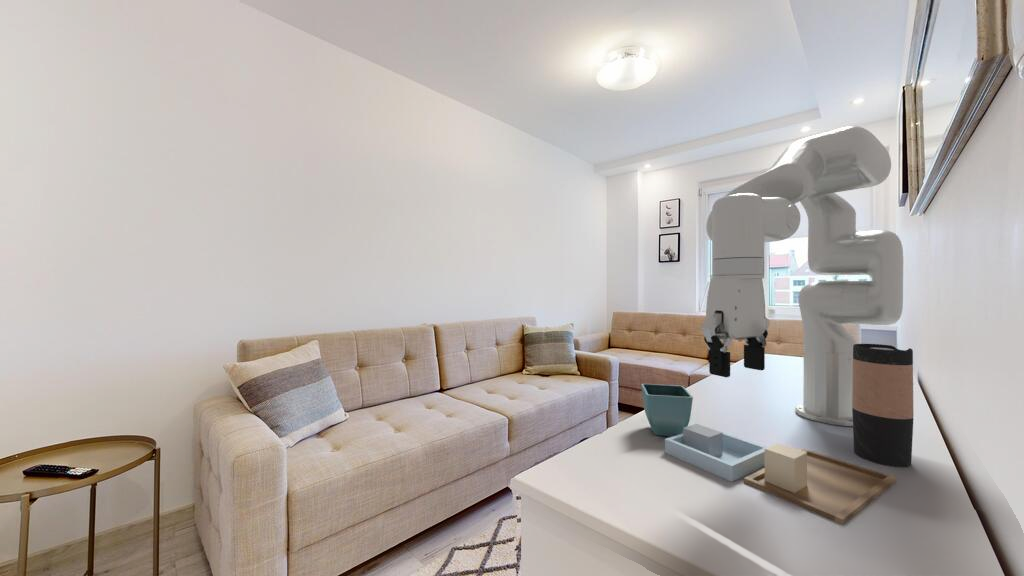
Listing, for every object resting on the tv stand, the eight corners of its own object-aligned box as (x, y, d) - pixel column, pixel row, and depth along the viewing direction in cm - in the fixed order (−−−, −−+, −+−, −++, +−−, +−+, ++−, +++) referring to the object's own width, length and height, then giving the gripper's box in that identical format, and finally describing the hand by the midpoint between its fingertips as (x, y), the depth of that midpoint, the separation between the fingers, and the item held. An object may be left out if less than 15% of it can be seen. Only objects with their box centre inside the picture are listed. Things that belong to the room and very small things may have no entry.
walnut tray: (803, 455, 68) (803, 448, 68) (895, 485, 58) (895, 477, 58) (743, 485, 58) (744, 478, 58) (842, 528, 48) (842, 519, 48)
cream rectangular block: (777, 474, 60) (777, 443, 60) (807, 485, 57) (807, 452, 57) (764, 480, 58) (764, 448, 58) (794, 493, 55) (794, 458, 55)
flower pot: (693, 442, 74) (693, 396, 74) (646, 439, 76) (646, 394, 76) (683, 426, 83) (682, 385, 83) (640, 423, 84) (640, 383, 84)
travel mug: (851, 461, 66) (851, 347, 66) (852, 447, 71) (852, 342, 71) (915, 476, 61) (916, 352, 60) (911, 460, 66) (911, 346, 66)
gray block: (696, 423, 72) (722, 432, 67) (696, 444, 72) (722, 454, 67) (683, 427, 69) (709, 437, 65) (683, 449, 70) (709, 460, 65)
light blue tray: (704, 441, 75) (704, 426, 75) (771, 466, 64) (771, 448, 64) (664, 455, 68) (664, 439, 68) (731, 485, 58) (731, 466, 58)
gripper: (744, 271, 71) (744, 362, 71) (683, 270, 62) (683, 373, 62) (789, 270, 64) (789, 370, 64) (728, 268, 56) (728, 383, 56)
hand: (737, 372), depth 63 cm, fingers open, 9 cm apart
